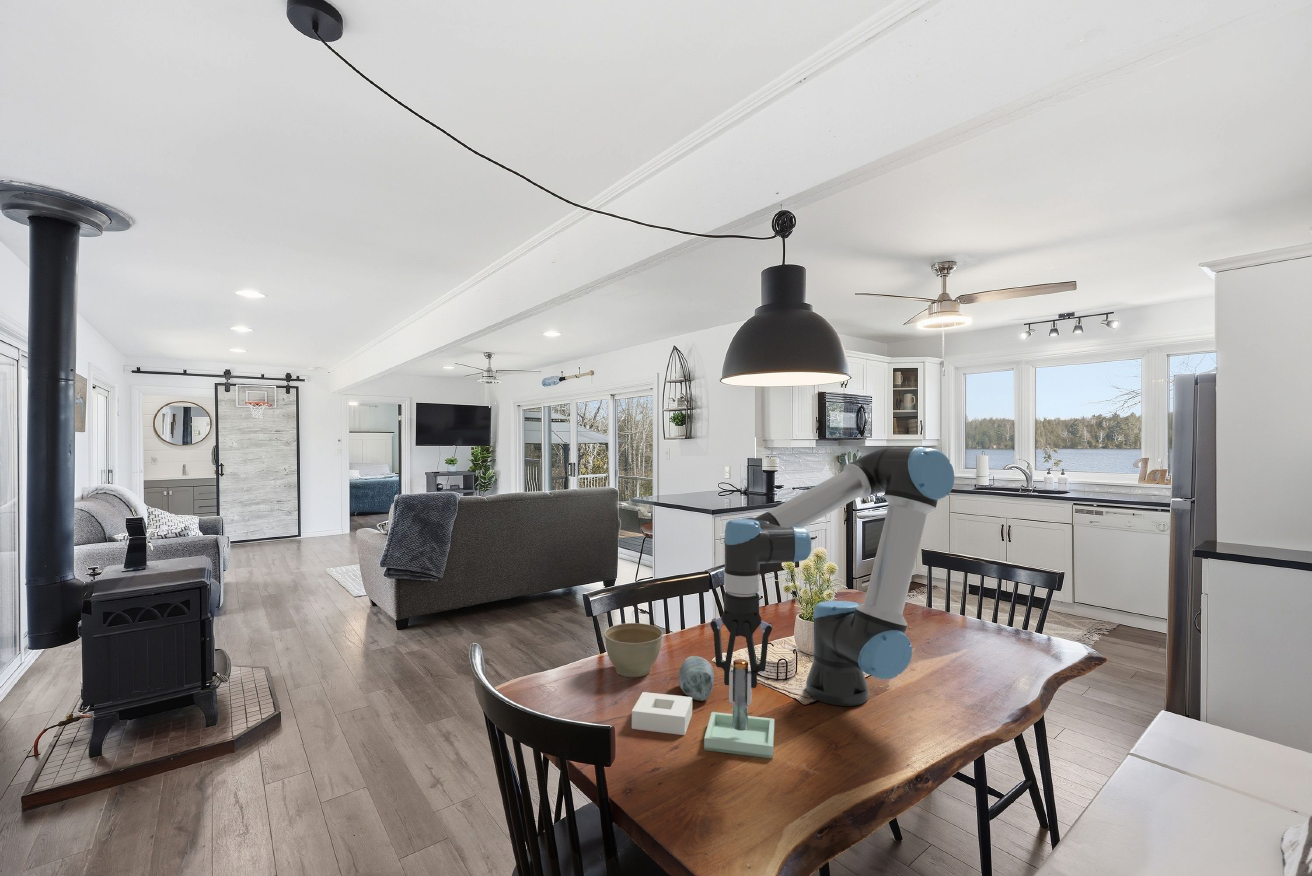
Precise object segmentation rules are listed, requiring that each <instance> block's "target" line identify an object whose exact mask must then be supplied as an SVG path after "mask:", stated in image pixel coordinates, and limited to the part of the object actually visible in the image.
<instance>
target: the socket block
mask: <svg viewBox="0 0 1312 876" xmlns="http://www.w3.org/2000/svg"><path fill="white" fill-rule="evenodd" d="M692 717H693V699H692V697H689V696H683V695H676V694H665V693H656V692H646V691H642V693H641V694H640V696H639V697H638V700H637V701H636V702H635V704H634V706H633V707H632V710H631V729H632V730H638V731H648V732H656V733H662V734H663V733H664V734H670V735H671V734H673V735H679V736H680V735H681V736H686V733H687V730H688V727H689V725H690V721H691V719H692Z"/></svg>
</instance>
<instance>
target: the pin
mask: <svg viewBox="0 0 1312 876" xmlns="http://www.w3.org/2000/svg"><path fill="white" fill-rule="evenodd" d="M732 665H733V666H732V668H733V703H732V714H733V728H734V729H736V730H740V731H743V730H746V729H747V728H748V716H749V715H748V714H749V713H748V709H749V705H747V676H748V669H749V660H747V659H742V658H741V659H740V658H737V659H734V660H733V664H732Z"/></svg>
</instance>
